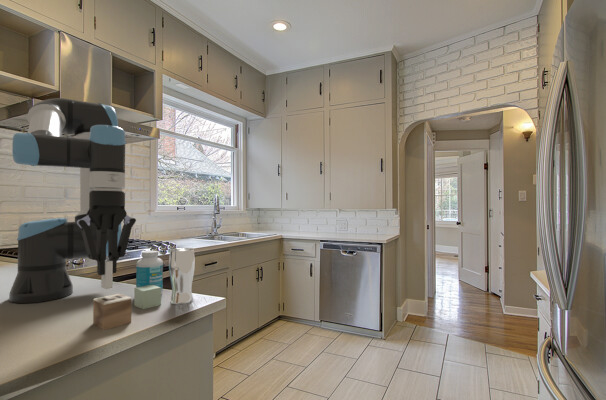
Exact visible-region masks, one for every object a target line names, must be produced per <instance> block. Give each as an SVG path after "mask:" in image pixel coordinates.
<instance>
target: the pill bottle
mask: <svg viewBox="0 0 606 400" xmlns="http://www.w3.org/2000/svg"><path fill="white" fill-rule="evenodd" d="M158 256H159V251H158V250H144V251H141V257H142V258H140V259H139V260H138V261H137V262H136V264H135V265H136V266H135V268H136V269H135V270H136V273H135V275H136V277H135V288H137V287H142V286H147V285H155V286H158V287H161V295H162V294H163V290H164V289H163V288H164V285H163V284H164V283H163V281H164V277H163V276H164V261H163V259H161V258H160V257H158Z"/></svg>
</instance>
